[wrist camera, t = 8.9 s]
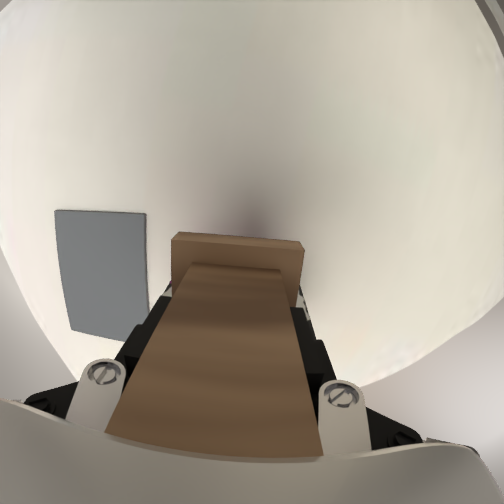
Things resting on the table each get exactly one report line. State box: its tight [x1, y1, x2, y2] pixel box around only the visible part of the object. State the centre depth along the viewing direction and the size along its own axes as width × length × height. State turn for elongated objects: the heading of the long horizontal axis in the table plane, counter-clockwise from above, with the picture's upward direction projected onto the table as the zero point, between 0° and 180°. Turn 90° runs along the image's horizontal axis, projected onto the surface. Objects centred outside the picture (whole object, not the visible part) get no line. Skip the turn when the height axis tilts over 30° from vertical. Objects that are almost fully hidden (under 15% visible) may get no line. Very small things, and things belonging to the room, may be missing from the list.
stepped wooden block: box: [104, 232, 324, 458], centre depth 9 cm, size 6×6×12 cm
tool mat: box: [54, 210, 149, 342], centre depth 30 cm, size 16×12×1 cm
